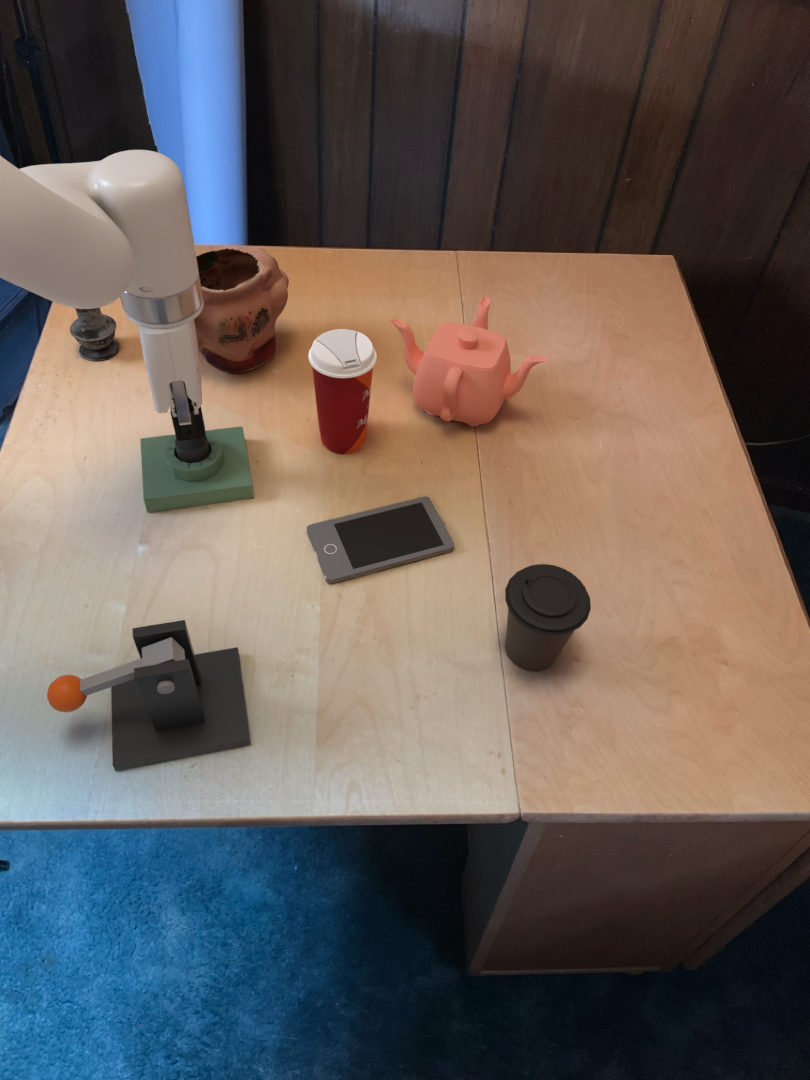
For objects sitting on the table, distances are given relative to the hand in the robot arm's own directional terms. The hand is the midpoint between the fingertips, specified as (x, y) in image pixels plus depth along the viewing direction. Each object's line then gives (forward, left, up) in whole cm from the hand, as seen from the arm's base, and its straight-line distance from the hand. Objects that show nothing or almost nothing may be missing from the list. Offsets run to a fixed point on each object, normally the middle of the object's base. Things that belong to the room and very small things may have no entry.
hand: (191, 434), depth 90 cm
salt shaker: (-11, +26, -7) cm, 29 cm away
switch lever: (-8, -31, 0) cm, 32 cm away
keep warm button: (0, 0, -3) cm, 3 cm away
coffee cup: (+31, -31, -7) cm, 44 cm away
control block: (0, 0, -6) cm, 6 cm away
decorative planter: (+6, +21, -7) cm, 23 cm away
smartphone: (+19, -14, -6) cm, 24 cm away
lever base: (-4, -31, -6) cm, 32 cm away
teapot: (+35, +8, -7) cm, 36 cm away
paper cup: (+18, +3, -7) cm, 19 cm away
